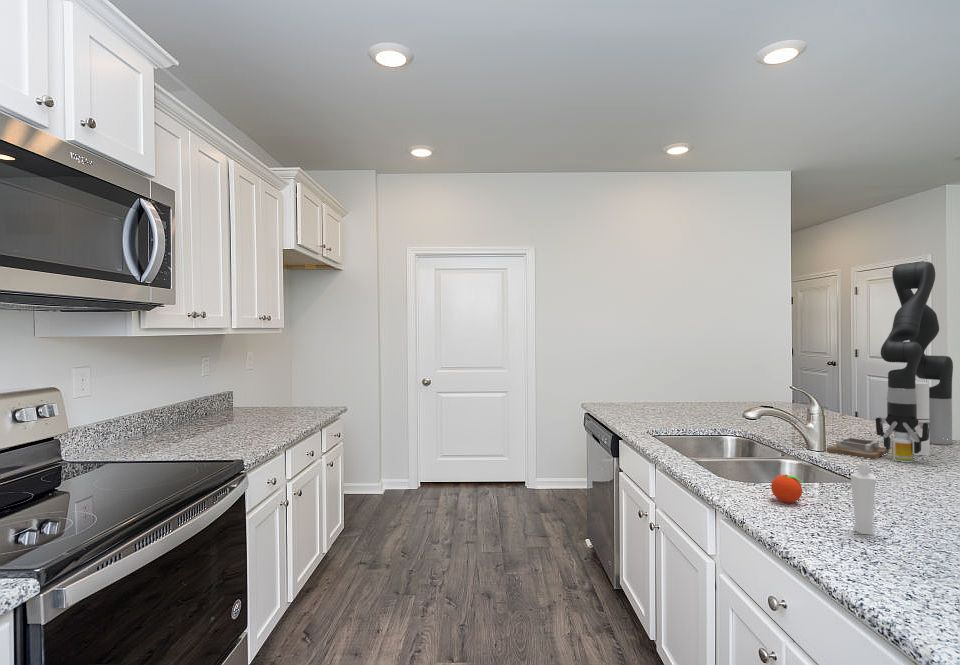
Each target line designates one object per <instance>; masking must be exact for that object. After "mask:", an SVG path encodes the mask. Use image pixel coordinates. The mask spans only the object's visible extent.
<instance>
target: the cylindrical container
mask: <svg viewBox="0 0 960 665" xmlns="http://www.w3.org/2000/svg"><path fill="white" fill-rule="evenodd" d="M915 387H916V388H915V389H916V396H917V420H918V421H919V422H929V387H930V383H929V382H924V381H915ZM915 430H916V431H917V433H918V435H919V436H920V437H922V430H923V429H921V428H920V425H917V426H916V427H915ZM909 439H911V440H912V442H913V454H914V455H913V456H915V455H929V456H930V452H931V451H930V444H931V443H930V442H929V439H928V440H927V441H922V442H921V451H920V452H919V453H914V442H915V440H914V439H913V437H912V436H911V435H910V437H909Z"/></svg>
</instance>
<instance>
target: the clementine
mask: <svg viewBox="0 0 960 665" xmlns="http://www.w3.org/2000/svg"><path fill="white" fill-rule="evenodd" d="M799 481H801V482H802V483H803V484H804V485H805V486H806V488H808V486H807V485H806V483H805V482H804V481H803V480H802V479H800V478H798V477H796V476H794V475H788V474H780V475H778V476H776V477H775V478H774V479H772V481H771V485H770V487H771V488H770V489H771V492H772V494H773V496H774V497H775V498H776V499H777V500H779V502H783V503H787V504H790V503H795V502H797V501H799V500H800V498H801V497H802V495H803V487H802V485H801V483H800V482H799Z"/></svg>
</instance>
